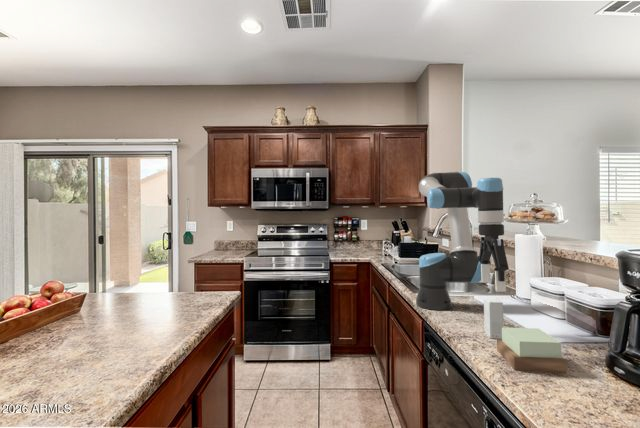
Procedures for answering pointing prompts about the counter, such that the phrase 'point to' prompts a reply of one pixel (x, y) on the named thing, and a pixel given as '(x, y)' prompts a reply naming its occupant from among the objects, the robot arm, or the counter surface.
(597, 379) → the counter surface
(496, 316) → the skincare box
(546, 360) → the tower base
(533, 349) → the tower top
